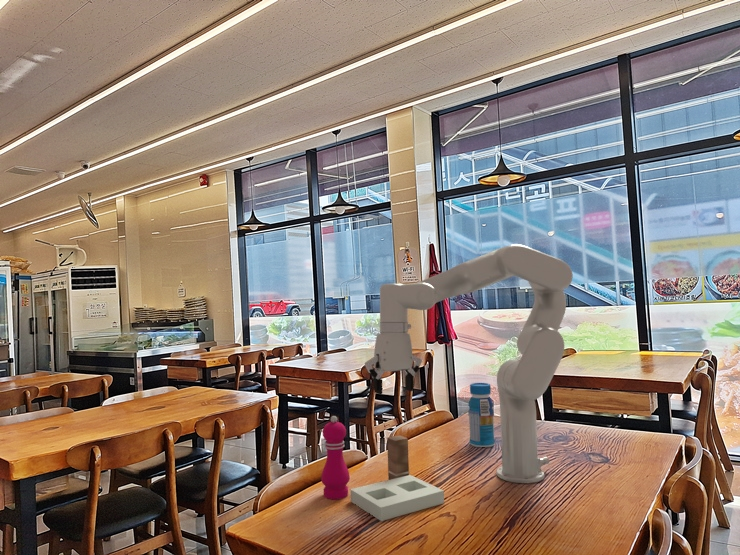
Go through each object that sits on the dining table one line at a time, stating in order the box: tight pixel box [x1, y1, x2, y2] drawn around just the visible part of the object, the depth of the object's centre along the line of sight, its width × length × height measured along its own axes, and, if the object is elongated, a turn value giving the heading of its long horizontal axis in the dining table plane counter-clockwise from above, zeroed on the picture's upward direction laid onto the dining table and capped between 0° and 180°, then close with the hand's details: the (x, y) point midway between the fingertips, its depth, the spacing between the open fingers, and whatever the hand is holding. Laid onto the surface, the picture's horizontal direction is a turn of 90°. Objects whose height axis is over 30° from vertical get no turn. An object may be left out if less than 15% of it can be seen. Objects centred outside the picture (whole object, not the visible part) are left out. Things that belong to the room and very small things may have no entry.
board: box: [349, 474, 445, 522], centre depth 131 cm, size 18×14×3 cm
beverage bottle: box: [467, 382, 496, 448], centre depth 179 cm, size 8×8×20 cm
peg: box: [386, 434, 410, 480], centre depth 145 cm, size 4×4×12 cm
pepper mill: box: [320, 415, 350, 500], centre depth 137 cm, size 7×7×20 cm
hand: (394, 391), depth 146 cm, fingers open, 9 cm apart
